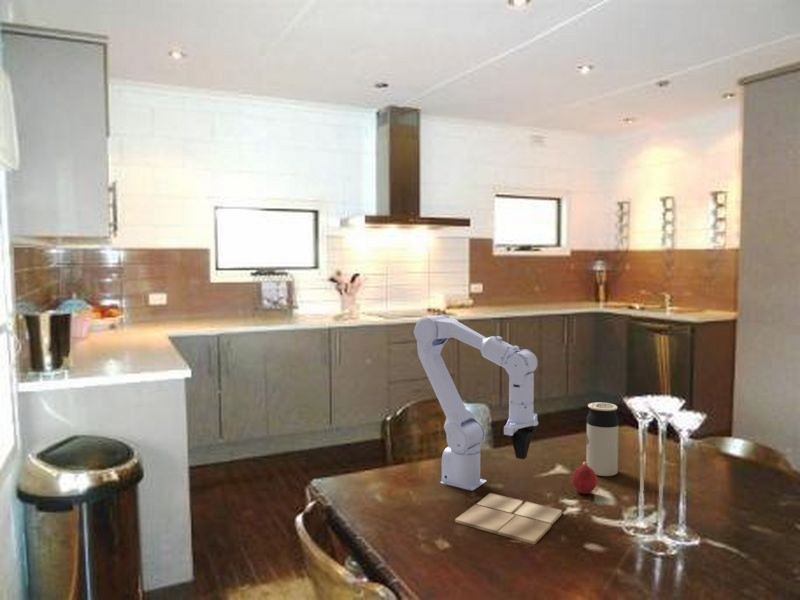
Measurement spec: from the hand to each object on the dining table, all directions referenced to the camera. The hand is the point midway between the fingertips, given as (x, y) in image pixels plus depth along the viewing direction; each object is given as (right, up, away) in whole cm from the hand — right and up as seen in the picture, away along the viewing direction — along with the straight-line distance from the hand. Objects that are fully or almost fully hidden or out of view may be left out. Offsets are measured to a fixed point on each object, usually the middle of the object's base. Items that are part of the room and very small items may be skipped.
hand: (521, 457), depth 139 cm
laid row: (-7, -11, -15) cm, 20 cm away
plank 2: (+2, -10, -10) cm, 15 cm away
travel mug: (+25, -9, +17) cm, 32 cm away
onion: (+16, -10, +2) cm, 19 cm away
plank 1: (-6, -10, -5) cm, 13 cm away
